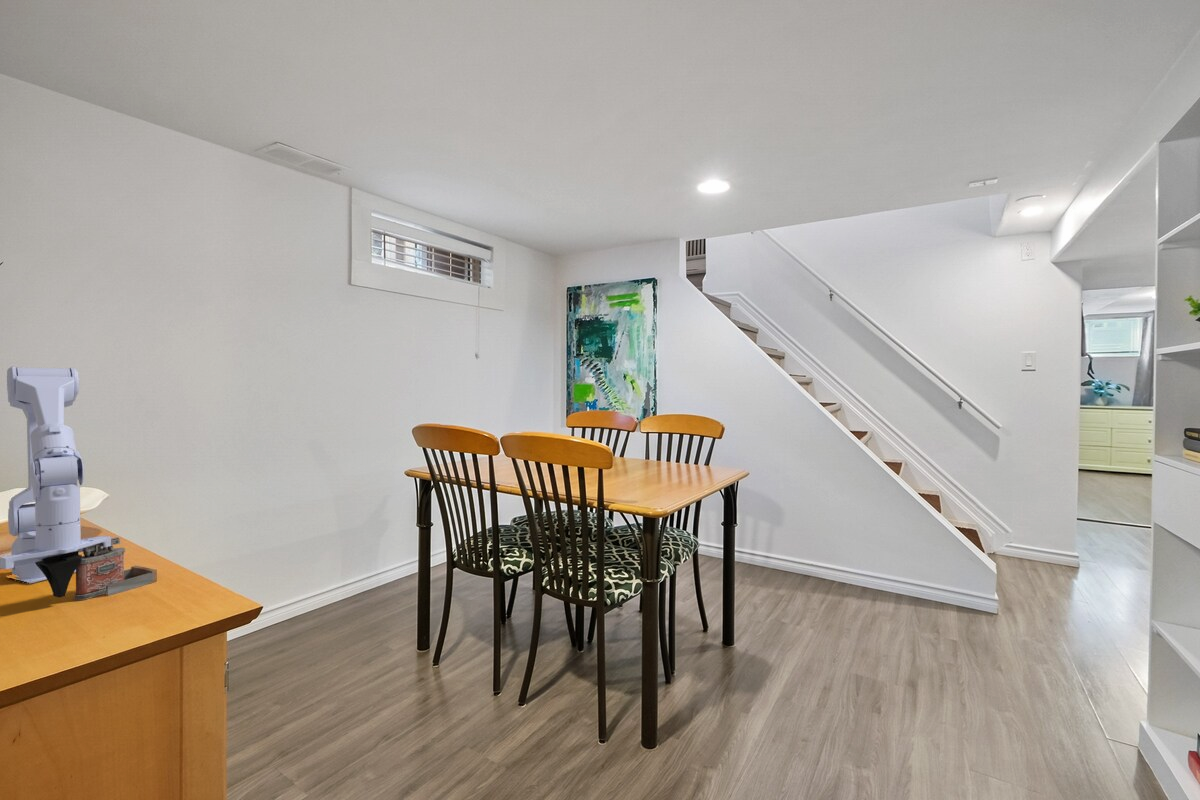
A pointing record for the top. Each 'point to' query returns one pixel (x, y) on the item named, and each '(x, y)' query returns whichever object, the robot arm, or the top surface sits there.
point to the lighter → (99, 569)
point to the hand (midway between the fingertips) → (59, 596)
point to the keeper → (132, 579)
